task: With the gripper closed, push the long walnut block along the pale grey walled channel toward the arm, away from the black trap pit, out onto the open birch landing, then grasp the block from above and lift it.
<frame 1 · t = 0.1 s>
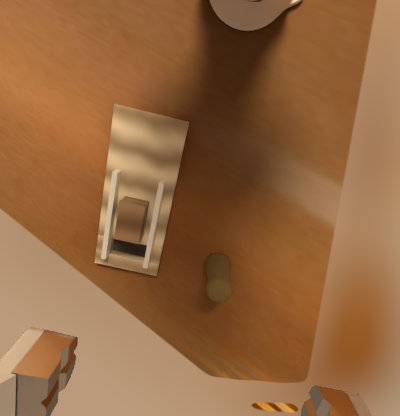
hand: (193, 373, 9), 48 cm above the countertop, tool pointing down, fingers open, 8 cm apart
cork: (217, 264, 62), on the countertop
walnut block: (134, 216, 57), point 2 cm above the countertop, touching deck
channel walls: (132, 220, 56), on the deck, point 3 cm above the countertop
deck: (139, 195, 57), on the countertop
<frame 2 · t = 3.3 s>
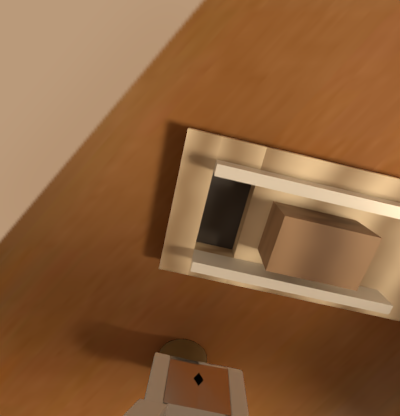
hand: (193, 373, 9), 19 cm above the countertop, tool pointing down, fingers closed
cork: (182, 357, 34), on the countertop
walnut block: (305, 235, 26), point 2 cm above the countertop, touching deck
channel walls: (305, 239, 25), on the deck, point 3 cm above the countertop
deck: (336, 235, 28), on the countertop
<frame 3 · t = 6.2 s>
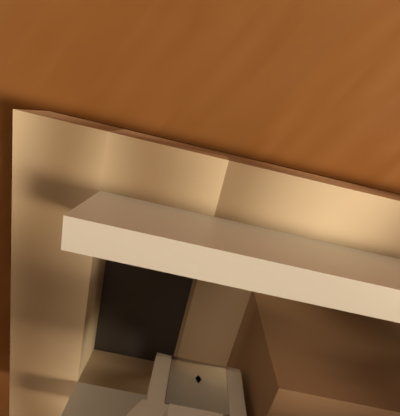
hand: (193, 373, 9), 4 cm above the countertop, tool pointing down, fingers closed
walnut block: (328, 359, 11), point 2 cm above the countertop, touching gripper
channel walls: (326, 384, 10), on the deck, point 3 cm above the countertop
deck: (386, 340, 13), on the countertop
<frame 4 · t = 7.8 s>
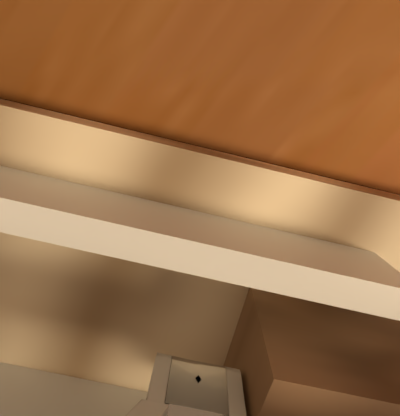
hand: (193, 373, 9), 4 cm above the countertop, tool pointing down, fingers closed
walnut block: (326, 354, 11), point 2 cm above the countertop, touching gripper
channel walls: (87, 331, 10), on the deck, point 3 cm above the countertop
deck: (208, 300, 13), on the countertop
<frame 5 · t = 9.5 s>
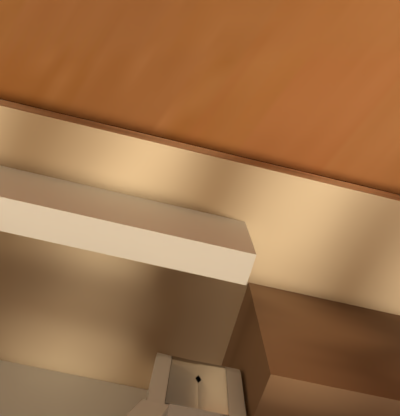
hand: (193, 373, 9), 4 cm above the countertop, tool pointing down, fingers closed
walnut block: (324, 352, 11), point 2 cm above the countertop, touching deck, gripper
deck: (110, 278, 13), on the countertop
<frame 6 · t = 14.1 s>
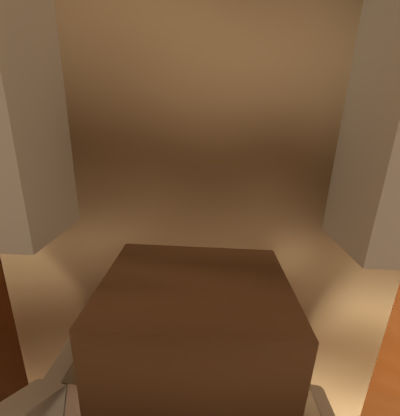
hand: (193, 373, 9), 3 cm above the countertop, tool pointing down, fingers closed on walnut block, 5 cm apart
walnut block: (195, 340, 10), point 2 cm above the countertop, touching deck, gripper
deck: (205, 67, 9), on the countertop
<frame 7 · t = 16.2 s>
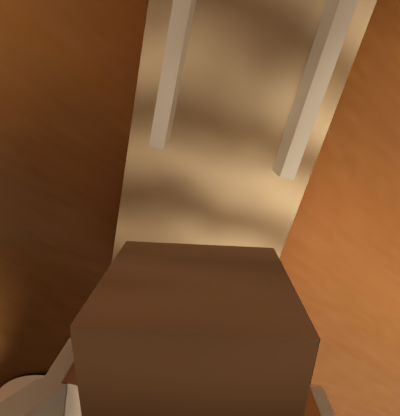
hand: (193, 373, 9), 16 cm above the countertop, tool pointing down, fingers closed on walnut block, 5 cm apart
walnut block: (195, 338, 10), point 14 cm above the countertop, touching gripper
channel walls: (261, 5, 16), on the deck, point 3 cm above the countertop
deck: (236, 89, 21), on the countertop
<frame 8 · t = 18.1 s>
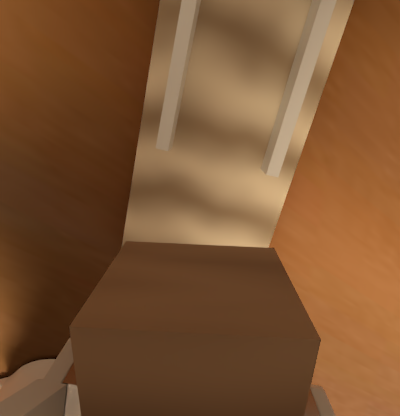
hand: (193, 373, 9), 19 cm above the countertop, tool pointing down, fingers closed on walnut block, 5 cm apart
walnut block: (195, 338, 10), point 18 cm above the countertop, touching gripper
channel walls: (249, 32, 20), on the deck, point 3 cm above the countertop
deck: (229, 100, 24), on the countertop
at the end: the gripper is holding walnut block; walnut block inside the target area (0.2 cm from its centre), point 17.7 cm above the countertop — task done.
